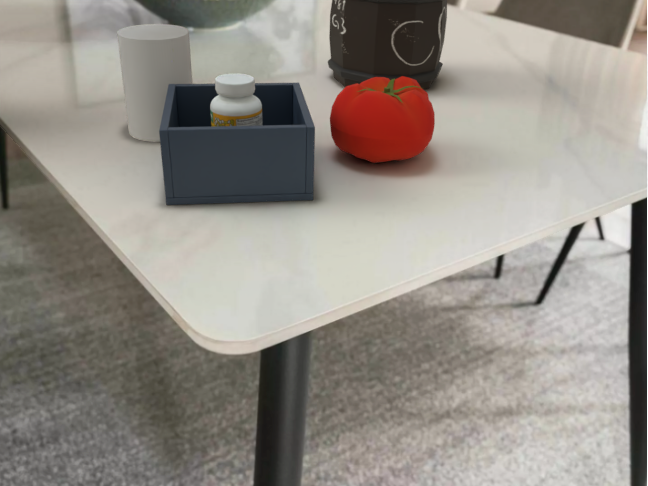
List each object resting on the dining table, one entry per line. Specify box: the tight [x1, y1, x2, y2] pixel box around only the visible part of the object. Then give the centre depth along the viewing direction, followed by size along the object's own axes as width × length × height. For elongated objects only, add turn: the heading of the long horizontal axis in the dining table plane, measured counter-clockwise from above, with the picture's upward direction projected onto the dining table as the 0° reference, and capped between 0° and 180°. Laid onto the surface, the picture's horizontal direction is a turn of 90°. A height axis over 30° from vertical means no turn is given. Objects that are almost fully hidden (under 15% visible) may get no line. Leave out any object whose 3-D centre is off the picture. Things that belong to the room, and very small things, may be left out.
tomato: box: [329, 76, 436, 164], centre depth 78 cm, size 13×12×8 cm
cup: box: [116, 23, 193, 143], centre depth 82 cm, size 8×8×12 cm
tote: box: [159, 82, 316, 206], centre depth 72 cm, size 15×15×8 cm
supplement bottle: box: [210, 72, 263, 127], centre depth 71 cm, size 5×5×10 cm
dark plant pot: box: [327, 0, 448, 91], centre depth 103 cm, size 18×18×16 cm
